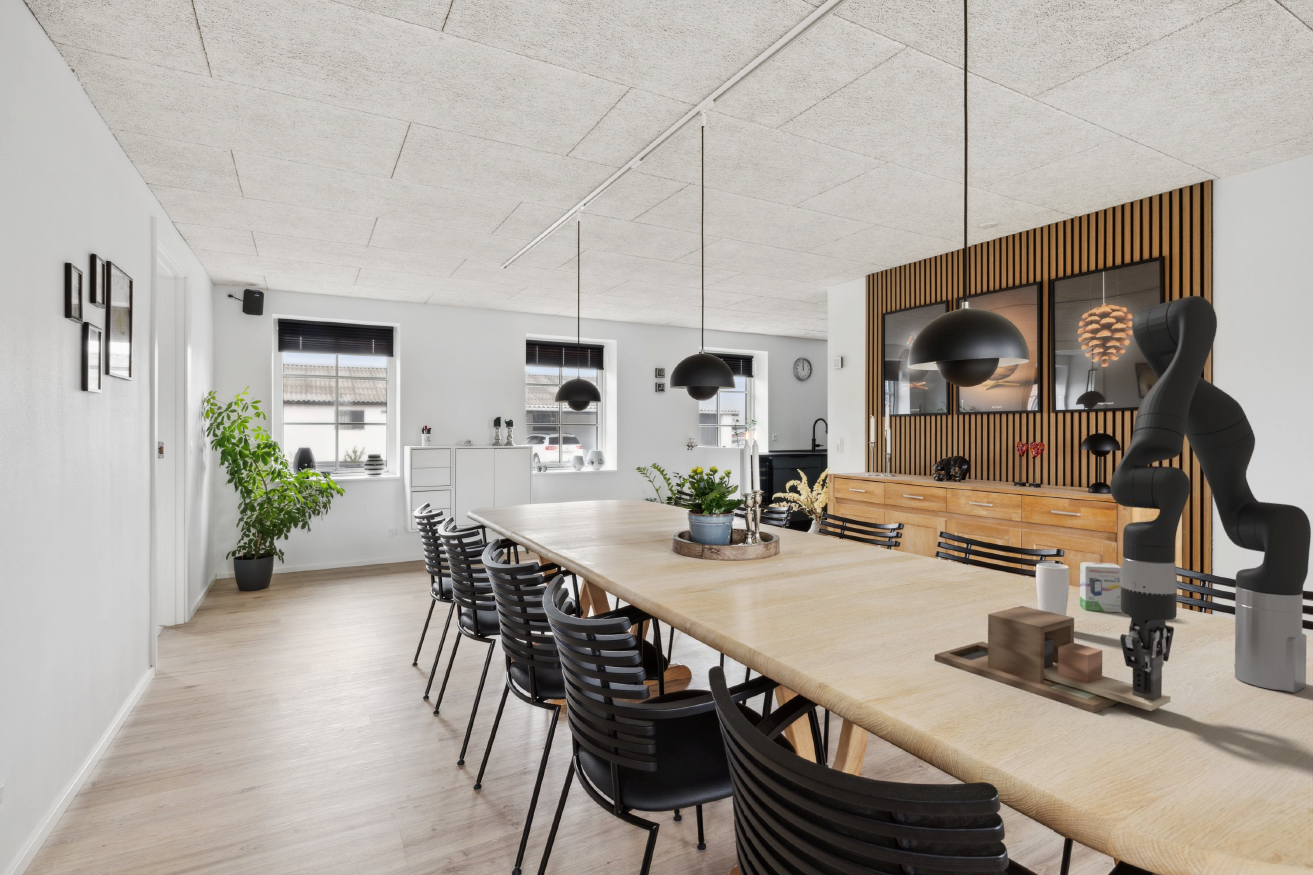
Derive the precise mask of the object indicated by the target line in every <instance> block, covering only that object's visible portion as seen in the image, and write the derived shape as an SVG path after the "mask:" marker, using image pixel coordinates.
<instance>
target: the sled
mask: <svg viewBox="0 0 1313 875" xmlns="http://www.w3.org/2000/svg"><path fill="white" fill-rule="evenodd" d="M1146 652H1147V651H1146ZM1144 659H1145V657H1144ZM1133 671H1134V669H1133V668H1132V672H1133ZM1150 672H1151V681H1150V693H1149V694H1142V693H1139V692H1136V691H1134V689H1133V685H1131V684H1132V683H1129V684H1127V683H1128V682H1126V683H1124V682H1125V681H1122V682H1120V681H1121V680H1119V681H1117V680H1118V679H1115V680H1113V679H1114V678H1112V679H1110V678H1111V677H1108V678H1106V677H1107V676H1105V677H1103V676H1104V675H1103V650H1102V649H1099V648H1095V647H1091V646H1089V645H1084V644H1079V643H1076V642H1074V643H1070V644H1067V645H1064V646H1061V647H1058V664H1057V663H1054V662H1053V639H1050V638H1047V637H1044V678H1045V679H1048V680H1052V681H1055V682H1058V683H1061V684H1065V685H1068V686H1071V687H1074V688H1078V689H1081V690H1084V691H1087V692H1091V693H1094V694H1097V695H1100V696H1104V697H1107V698H1110V699H1113V700H1117V701H1120V702H1119V703H1123V704H1127V705H1131V706H1133V707H1136V708H1140V709H1143V710H1145V711H1150V712H1152V711H1154V710H1156V709H1158V708H1160V707H1161V708H1162V706H1164V705H1167V704H1170V703H1171V695H1169V694H1165V693H1162V691H1163V690H1162V687H1163V685H1162V684H1163V683H1162V681H1163V680H1162V679H1163V675H1162V674H1163V667H1162V655H1159V654H1156V657H1155V658H1152V659H1151V671H1150Z"/></svg>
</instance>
